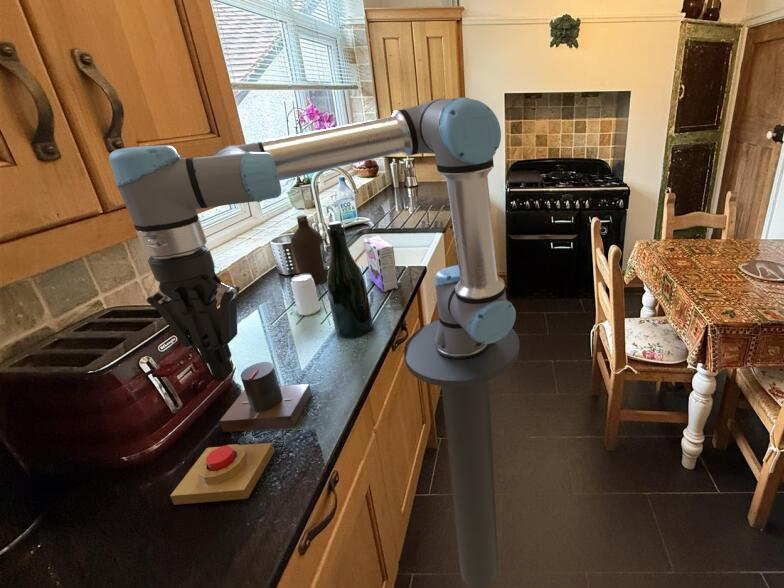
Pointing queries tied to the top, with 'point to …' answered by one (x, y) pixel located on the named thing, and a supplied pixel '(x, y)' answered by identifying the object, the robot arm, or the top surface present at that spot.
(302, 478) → the top surface
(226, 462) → the light button
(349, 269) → the dark green wine bottle
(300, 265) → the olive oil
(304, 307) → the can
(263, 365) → the dimmer knob
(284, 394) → the panel
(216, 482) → the switch block
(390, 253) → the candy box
